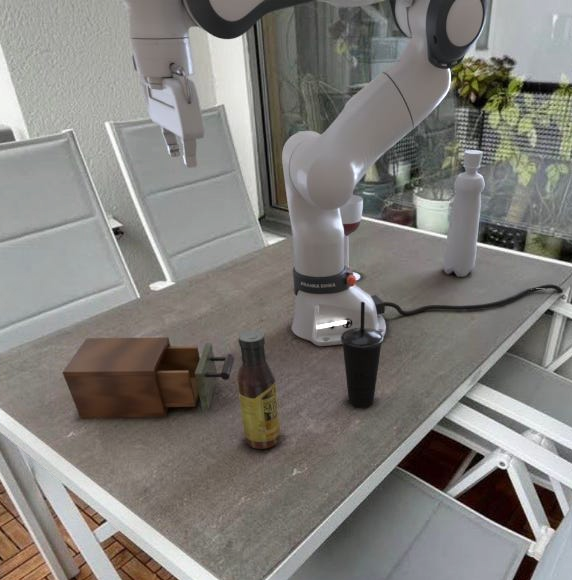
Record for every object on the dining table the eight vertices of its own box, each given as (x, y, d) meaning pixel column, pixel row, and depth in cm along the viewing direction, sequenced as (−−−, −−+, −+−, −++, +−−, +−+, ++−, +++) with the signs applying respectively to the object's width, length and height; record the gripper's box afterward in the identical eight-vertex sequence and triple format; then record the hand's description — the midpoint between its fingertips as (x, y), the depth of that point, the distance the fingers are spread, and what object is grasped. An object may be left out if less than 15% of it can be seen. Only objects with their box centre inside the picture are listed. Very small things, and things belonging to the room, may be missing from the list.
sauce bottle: (274, 453, 95) (262, 349, 81) (240, 448, 96) (223, 344, 82) (285, 431, 99) (276, 329, 86) (253, 427, 100) (238, 325, 87)
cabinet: (179, 381, 112) (168, 337, 105) (165, 417, 103) (152, 371, 96) (101, 382, 112) (86, 337, 105) (80, 418, 102) (62, 372, 96)
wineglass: (367, 274, 155) (369, 197, 142) (350, 284, 150) (351, 205, 136) (343, 268, 158) (343, 193, 145) (326, 278, 153) (324, 200, 140)
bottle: (436, 273, 156) (449, 153, 136) (449, 263, 162) (464, 146, 142) (465, 280, 153) (484, 157, 133) (478, 270, 158) (497, 150, 138)
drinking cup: (340, 391, 109) (339, 294, 96) (377, 390, 110) (382, 293, 97) (342, 413, 104) (342, 312, 90) (382, 411, 104) (387, 311, 91)
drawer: (239, 378, 111) (234, 342, 106) (232, 410, 103) (226, 373, 97) (145, 379, 111) (135, 343, 105) (130, 411, 102) (118, 374, 97)
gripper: (205, 65, 81) (220, 171, 90) (166, 55, 94) (182, 148, 103) (163, 68, 78) (183, 176, 88) (128, 57, 92) (149, 152, 101)
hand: (182, 161), depth 96 cm, fingers open, 8 cm apart
